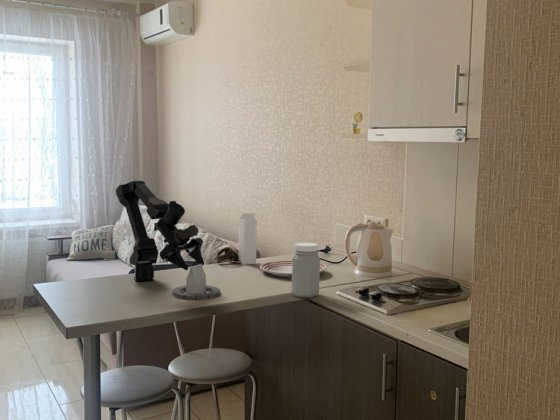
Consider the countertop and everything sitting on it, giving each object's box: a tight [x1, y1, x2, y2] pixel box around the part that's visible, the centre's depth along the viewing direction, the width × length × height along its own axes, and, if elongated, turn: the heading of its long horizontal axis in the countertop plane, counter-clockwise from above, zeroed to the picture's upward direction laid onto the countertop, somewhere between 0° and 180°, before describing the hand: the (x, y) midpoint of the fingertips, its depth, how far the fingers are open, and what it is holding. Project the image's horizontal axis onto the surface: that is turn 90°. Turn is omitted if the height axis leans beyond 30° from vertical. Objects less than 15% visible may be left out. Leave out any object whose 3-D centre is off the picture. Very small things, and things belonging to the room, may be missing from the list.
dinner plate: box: [259, 259, 328, 279], centre depth 246 cm, size 28×27×3 cm
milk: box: [237, 212, 258, 266], centre depth 262 cm, size 6×6×22 cm
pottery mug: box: [216, 246, 241, 265], centre depth 262 cm, size 12×10×8 cm
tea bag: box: [185, 263, 207, 294], centre depth 208 cm, size 4×7×10 cm, turn 156°
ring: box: [172, 284, 221, 301], centre depth 208 cm, size 16×16×1 cm
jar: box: [291, 241, 321, 299], centre depth 210 cm, size 10×10×18 cm
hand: (195, 267), depth 208 cm, fingers open, 9 cm apart
